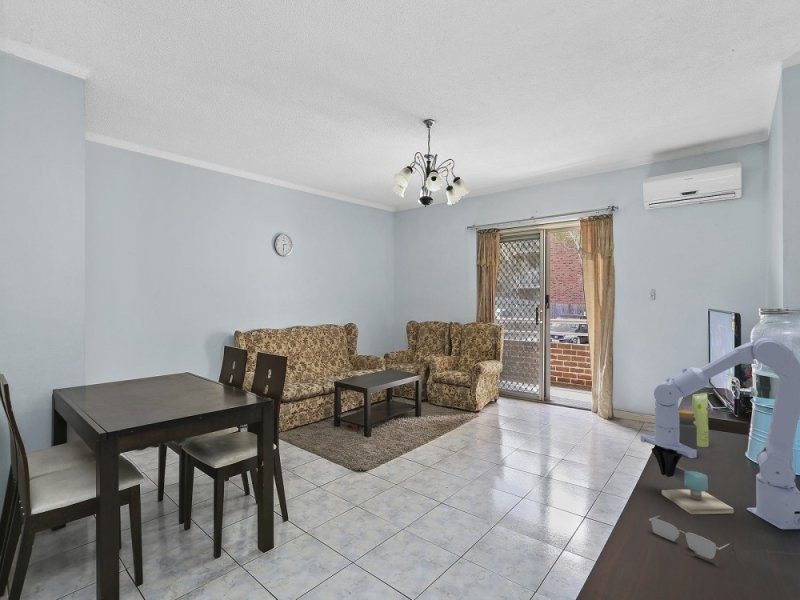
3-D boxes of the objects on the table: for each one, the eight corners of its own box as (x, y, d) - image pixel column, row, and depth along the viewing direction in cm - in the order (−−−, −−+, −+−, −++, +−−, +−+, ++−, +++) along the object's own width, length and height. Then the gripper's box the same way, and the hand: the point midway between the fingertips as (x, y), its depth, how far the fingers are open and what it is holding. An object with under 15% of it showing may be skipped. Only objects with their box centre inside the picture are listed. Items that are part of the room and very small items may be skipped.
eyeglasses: (648, 532, 97) (648, 515, 97) (665, 522, 101) (665, 506, 101) (719, 563, 85) (719, 544, 85) (735, 551, 89) (735, 532, 89)
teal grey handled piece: (712, 490, 108) (712, 477, 108) (696, 492, 107) (696, 479, 107) (675, 472, 119) (675, 461, 119) (660, 474, 118) (660, 462, 118)
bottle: (679, 457, 143) (679, 413, 143) (674, 451, 149) (673, 409, 149) (699, 458, 141) (699, 414, 141) (693, 452, 147) (692, 410, 147)
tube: (710, 450, 150) (709, 395, 150) (692, 447, 152) (692, 394, 152) (707, 445, 154) (707, 392, 155) (691, 443, 157) (690, 391, 157)
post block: (733, 513, 105) (733, 496, 105) (691, 514, 104) (691, 497, 104) (700, 493, 116) (700, 478, 116) (661, 494, 115) (661, 479, 115)
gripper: (703, 431, 111) (704, 483, 111) (652, 418, 124) (652, 463, 124) (686, 435, 108) (686, 487, 108) (635, 420, 122) (635, 467, 121)
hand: (667, 475), depth 116 cm, fingers closed
